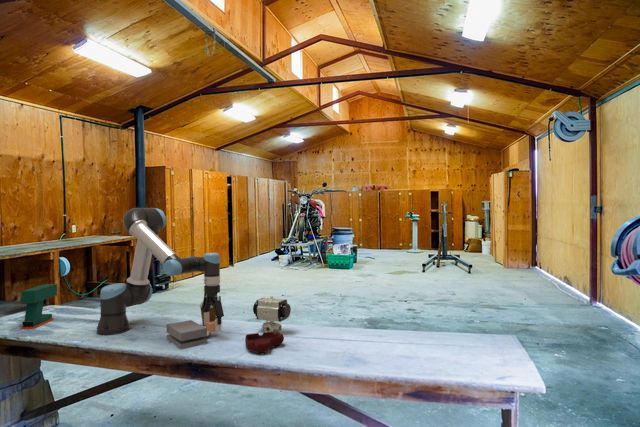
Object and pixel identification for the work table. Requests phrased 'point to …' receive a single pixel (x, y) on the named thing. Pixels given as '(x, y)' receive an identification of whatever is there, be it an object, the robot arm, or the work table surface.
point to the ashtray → (263, 341)
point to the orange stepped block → (211, 327)
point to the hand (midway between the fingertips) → (212, 328)
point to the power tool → (37, 305)
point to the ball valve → (271, 312)
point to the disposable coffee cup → (211, 313)
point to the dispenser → (186, 334)
